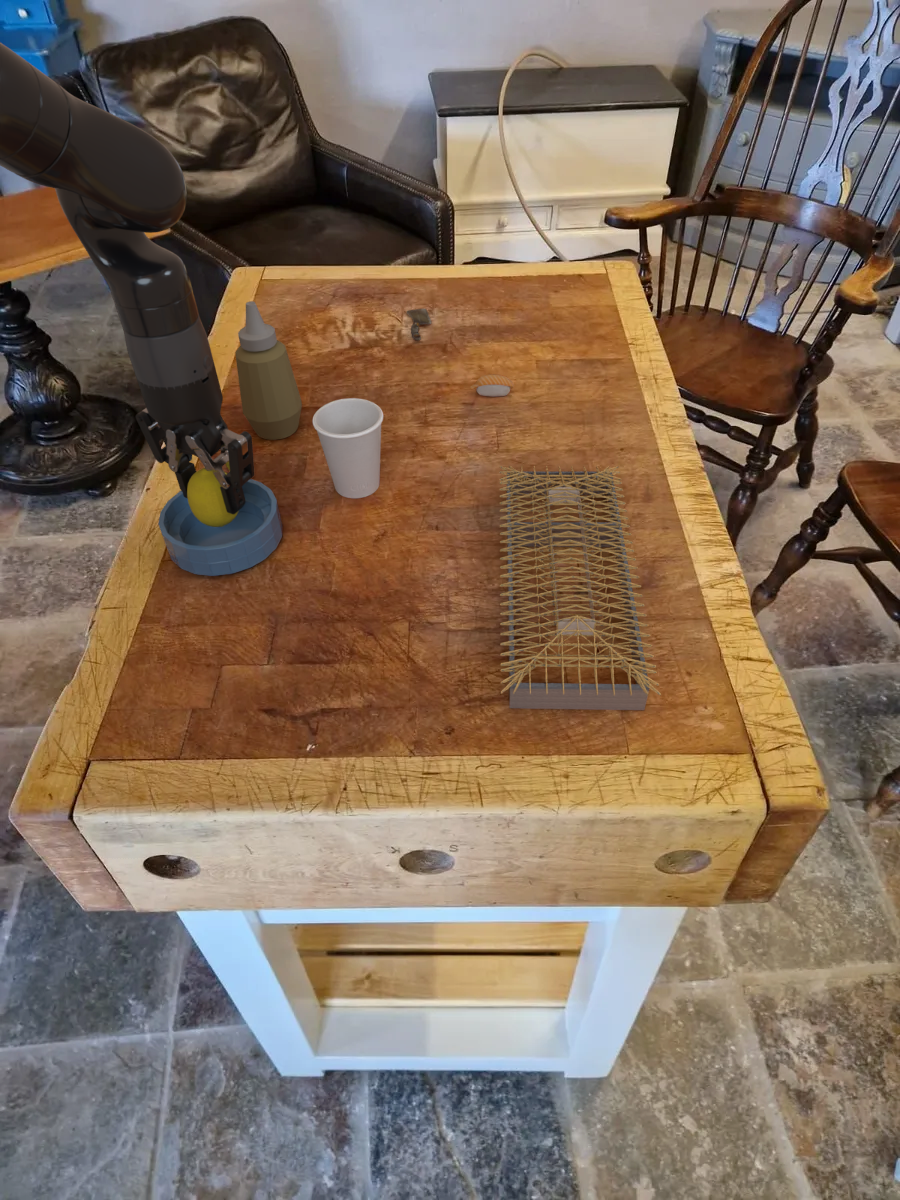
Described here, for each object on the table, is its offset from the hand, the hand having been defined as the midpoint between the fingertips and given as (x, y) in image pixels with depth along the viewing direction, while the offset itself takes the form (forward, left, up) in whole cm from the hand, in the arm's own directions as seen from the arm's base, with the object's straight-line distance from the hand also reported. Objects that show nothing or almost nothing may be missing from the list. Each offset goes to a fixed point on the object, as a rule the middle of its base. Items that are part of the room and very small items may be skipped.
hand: (214, 501), depth 90 cm
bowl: (0, 0, -6) cm, 6 cm away
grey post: (+57, +7, -5) cm, 57 cm away
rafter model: (+10, -39, -6) cm, 40 cm away
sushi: (+43, -14, -6) cm, 46 cm away
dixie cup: (+16, -8, -6) cm, 19 cm away
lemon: (0, 0, -4) cm, 4 cm away
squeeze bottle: (+22, +9, -6) cm, 25 cm away
